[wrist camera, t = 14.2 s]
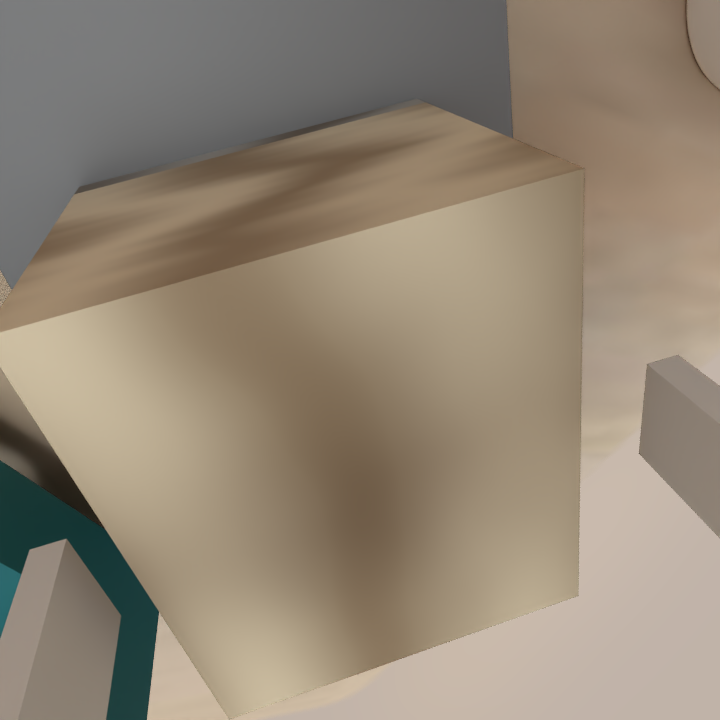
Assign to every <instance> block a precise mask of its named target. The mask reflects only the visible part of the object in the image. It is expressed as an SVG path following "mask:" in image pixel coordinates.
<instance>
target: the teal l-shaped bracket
mask: <svg viewBox="0 0 720 720" xmlns="http://www.w3.org/2000/svg"><path fill="white" fill-rule="evenodd" d="M64 539H67V540H68V541H69V543H70V544H71V546H72V547H73V548H74V550H75V551H76V553H77V554H78V556H79V557H80V558H81V560H82V561H83V563H84V564H85V565H86V567H87V568H88V570H89V571H90V572H91V574H92V575H93V577H94V578H95V579H96V581H97V582H98V584H99V585H100V587H101V588H102V589H103V591H104V592H105V594H106V595H107V596H108V598H109V599H110V601H111V602H112V603H113V605H114V606H115V608H116V609H117V610H118V612H119V613H120V615H121V620H120V627H119V634H118V641H117V648H116V654H115V661H114V668H113V675H112V682H111V689H110V696H109V703H108V709H107V716H106V720H147V713H148V704H149V695H150V686H151V677H152V669H153V660H154V651H155V642H156V633H157V625H158V616H159V611H158V609H157V608H156V606H155V605H154V603H153V602H152V600H151V599H150V597H149V595H148V594H147V592H146V591H145V589H144V588H143V586H142V585H141V583H140V582H139V580H138V579H137V577H136V575H135V574H134V572H133V571H132V569H131V568H130V566H129V565H128V563H127V562H126V560H125V559H124V557H123V555H122V554H121V552H120V551H119V549H118V548H117V546H116V545H115V543H114V542H113V540H112V539H111V537H110V535H109V534H108V532H107V531H106V530H105V529H104V528H102V527H101V526H99V525H98V524H96V523H95V522H93V521H92V520H90V519H89V518H87V517H86V516H84V515H83V514H81V513H80V512H78V511H76V510H75V509H73V508H72V507H70V506H69V505H67V504H66V503H64V502H63V501H61V500H60V499H58V498H57V497H55V496H54V495H52V494H51V493H49V492H48V491H46V490H45V489H43V488H42V487H40V486H39V485H37V484H36V483H34V482H32V481H31V480H29V479H28V478H26V477H25V476H23V475H22V474H20V473H19V472H17V471H16V470H14V469H13V468H11V467H10V466H8V465H7V464H5V463H4V462H2V461H1V460H0V638H1V635H2V632H3V629H4V626H5V623H6V620H7V617H8V614H9V611H10V608H11V605H12V602H13V598H14V595H15V592H16V589H17V586H18V583H19V580H20V577H21V574H22V571H23V568H24V565H25V562H26V559H27V556H28V553H29V550H30V549H34V548H37V547H40V546H44V545H47V544H50V543H54V542H57V541H60V540H64Z"/></svg>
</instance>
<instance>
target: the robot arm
mask: <svg viewBox="0 0 720 720" xmlns="http://www.w3.org/2000/svg"><path fill="white" fill-rule="evenodd" d="M639 454H640V455H641V456H642V457H643V458H644V459H645V460H646V462H647V463H648V464H649V465H650V466H651V467H652V468H653V469H654V470H655V471H656V472H657V473H658V474H659V475H660V476H661V477H662V478H663V479H664V480H665V481H666V482H667V484H668V485H669V486H670V487H671V488H672V489H673V490H674V491H675V492H676V493H677V494H678V495H679V496H680V497H681V498H682V499H683V500H684V501H685V502H686V503H687V504H688V506H690V507H691V509H692V510H693V511H694V512H695V513H696V514H697V515H698V516H699V517H700V518H701V519H702V520H703V521H704V522H705V523H706V524H707V525H708V526H709V528H711V530H712V531H713V532H714V533H715V534H716V535H717V536H718V537H719V538H720V386H719V385H717V384H716V383H715V382H714V381H712V380H711V379H710V378H708V377H707V376H706V375H704V374H703V373H702V372H700V371H699V370H698V369H696V368H695V367H694V366H692V365H691V364H690V363H688V362H687V361H686V360H684V359H683V358H682V357H680V356H679V355H676V356H672V357H669V358H666V359H662V360H659V361H656V362H653V363H649V364H647V370H646V381H645V392H644V403H643V414H642V425H641V436H640V447H639ZM120 620H121V615H120V613H119V612H118V610H117V609H116V608H115V606H114V605H113V603H112V602H111V601H110V599H109V598H108V596H107V595H106V594H105V592H104V591H103V589H102V588H101V587H100V585H99V584H98V582H97V581H96V579H95V578H94V577H93V575H92V574H91V572H90V571H89V570H88V568H87V567H86V565H85V564H84V563H83V561H82V560H81V558H80V557H79V556H78V554H77V553H76V551H75V550H74V548H73V547H72V546H71V544H70V543H69V541H68V540H67V539H64V540H60V541H57V542H54V543H50V544H47V545H44V546H40V547H37V548H34V549H30V550H29V553H28V556H27V559H26V562H25V565H24V568H23V571H22V574H21V577H20V580H19V583H18V586H17V589H16V592H15V595H14V598H13V602H12V605H11V608H10V611H9V614H8V617H7V620H6V623H5V626H4V629H3V632H2V635H1V638H0V720H106V716H107V709H108V703H109V696H110V689H111V682H112V675H113V668H114V661H115V654H116V648H117V641H118V634H119V627H120Z"/></svg>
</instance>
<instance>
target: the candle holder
mask: <svg viewBox="0 0 720 720" xmlns="http://www.w3.org/2000/svg"><path fill="white" fill-rule="evenodd" d="M687 26H688V34H689V39H690V43H691V47H692V50H693V53H694V56H695V58H696V61H697V63H698V65H699V67H700V68H701V70H702V71H703V73H704V74H705V76H706V77H707V78H708V79H709V80H710V81H711V82H712V83H713V84H714V85H715V86H716V87H717V88H719V89H720V0H687Z"/></svg>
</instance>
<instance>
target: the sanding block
mask: <svg viewBox="0 0 720 720" xmlns="http://www.w3.org/2000/svg"><path fill="white" fill-rule="evenodd" d="M584 171H585V168H582V167H580V166H578V165H575V164H573V163H570V162H568V161H566V160H563V159H561V158H558V157H556V156H554V155H551V154H549V153H546V152H544V151H542V150H539V149H537V148H534V147H532V146H529V145H527V144H525V143H522V142H520V141H517V140H515V139H513V138H510V137H508V136H505V135H503V134H501V133H498V132H496V131H493V130H491V129H489V128H486V127H484V126H481V125H479V124H477V123H474V122H472V121H469V120H467V119H465V118H462V117H460V116H457V115H455V114H453V113H450V112H448V111H445V110H443V109H440V108H438V107H436V106H433V105H431V104H428V103H426V102H424V101H421V100H419V99H413V100H410V101H406V102H402V103H398V104H394V105H390V106H387V107H383V108H379V109H375V110H371V111H367V112H364V113H360V114H356V115H352V116H348V117H344V118H341V119H337V120H333V121H329V122H325V123H321V124H318V125H314V126H310V127H306V128H302V129H298V130H295V131H291V132H287V133H283V134H279V135H275V136H272V137H268V138H264V139H260V140H256V141H253V142H249V143H245V144H241V145H237V146H233V147H230V148H226V149H222V150H218V151H214V152H210V153H207V154H203V155H199V156H195V157H191V158H187V159H184V160H180V161H176V162H172V163H168V164H164V165H161V166H157V167H153V168H149V169H145V170H141V171H138V172H134V173H130V174H126V175H122V176H118V177H115V178H111V179H107V180H103V181H99V182H95V183H92V184H88V185H84V186H80V187H79V188H78V189H77V191H76V192H75V194H74V195H73V197H72V198H71V200H70V202H69V203H68V205H67V206H66V208H65V209H64V211H63V212H62V214H61V215H60V217H59V218H58V220H57V222H56V223H55V225H54V226H53V228H52V229H51V231H50V232H49V234H48V235H47V237H46V238H45V240H44V242H43V243H42V245H41V246H40V248H39V249H38V251H37V252H36V254H35V255H34V257H33V258H32V260H31V262H30V263H29V265H28V266H27V268H26V269H25V271H24V272H23V274H22V275H21V277H20V278H19V280H18V282H17V283H16V285H15V286H14V288H13V289H12V291H11V292H10V294H9V295H8V297H7V298H6V300H5V302H4V303H3V305H2V306H1V308H0V368H1V369H2V371H3V373H4V374H5V376H6V377H7V379H8V380H9V382H10V383H11V385H12V386H13V388H14V389H15V391H16V393H17V394H18V396H19V397H20V399H21V400H22V402H23V403H24V405H25V406H26V408H27V409H28V411H29V413H30V414H31V416H32V417H33V419H34V420H35V422H36V423H37V425H38V426H39V428H40V429H41V431H42V432H43V434H44V436H45V437H46V439H47V440H48V442H49V443H50V445H51V446H52V448H53V449H54V451H55V452H56V454H57V456H58V457H59V459H60V460H61V462H62V463H63V465H64V466H65V468H66V469H67V471H68V472H69V474H70V476H71V477H72V479H73V480H74V482H75V483H76V485H77V486H78V488H79V489H80V491H81V492H82V494H83V496H84V497H85V499H86V500H87V502H88V503H89V505H90V506H91V508H92V509H93V511H94V512H95V514H96V515H97V517H98V519H99V520H100V522H101V523H102V525H103V526H104V528H105V529H106V531H107V532H108V534H109V535H110V537H111V539H112V540H113V542H114V543H115V545H116V546H117V548H118V549H119V551H120V552H121V554H122V555H123V557H124V559H125V560H126V562H127V563H128V565H129V566H130V568H131V569H132V571H133V572H134V574H135V575H136V577H137V579H138V580H139V582H140V583H141V585H142V586H143V588H144V589H145V591H146V592H147V594H148V595H149V597H150V599H151V600H152V602H153V603H154V605H155V606H156V608H157V609H158V611H159V612H160V614H161V615H162V617H163V618H164V620H165V622H166V623H167V625H168V626H169V628H170V629H171V631H172V632H173V634H174V635H175V637H176V638H177V640H178V642H179V643H180V645H181V646H182V648H183V649H184V651H185V652H186V654H187V655H188V657H189V658H190V660H191V662H192V663H193V665H194V666H195V668H196V669H197V671H198V672H199V674H200V675H201V677H202V678H203V680H204V682H205V683H206V685H207V686H208V688H209V689H210V691H211V692H212V694H213V695H214V697H215V698H216V700H217V701H218V703H219V705H220V706H221V708H222V709H223V711H224V712H225V714H226V715H227V717H228V718H229V719H232V718H235V717H238V716H240V715H243V714H246V713H249V712H252V711H255V710H257V709H260V708H263V707H266V706H269V705H272V704H274V703H277V702H280V701H283V700H286V699H288V698H291V697H294V696H297V695H300V694H303V693H305V692H308V691H311V690H314V689H317V688H320V687H322V686H325V685H328V684H331V683H334V682H337V681H339V680H342V679H345V678H348V677H351V676H353V675H356V674H359V673H362V672H365V671H368V670H370V669H373V668H376V667H379V666H382V665H385V664H387V663H390V662H393V661H396V660H399V659H402V658H404V657H407V656H410V655H413V654H416V653H418V652H421V651H424V650H427V649H430V648H432V647H435V646H438V645H441V644H443V643H447V642H450V641H452V640H455V639H458V638H461V637H464V636H466V635H469V634H472V633H475V632H477V631H481V630H483V629H486V628H489V627H492V626H495V625H497V624H500V623H503V622H506V621H509V620H512V619H515V618H517V617H520V616H523V615H526V614H529V613H531V612H534V611H537V610H540V609H543V608H546V607H548V606H551V605H554V604H557V603H560V602H562V601H565V600H568V599H571V598H574V597H576V596H578V585H579V580H578V579H579V578H578V577H579V517H580V516H579V512H580V511H579V510H580V448H581V379H582V310H583V240H584Z"/></svg>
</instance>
